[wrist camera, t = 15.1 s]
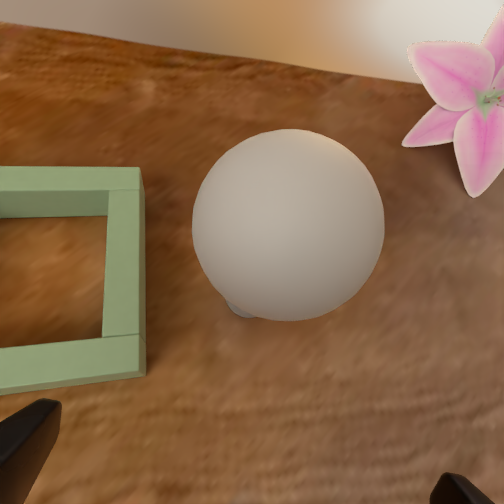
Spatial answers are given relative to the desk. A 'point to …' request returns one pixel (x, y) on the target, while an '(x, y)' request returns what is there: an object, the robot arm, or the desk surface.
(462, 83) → the lily
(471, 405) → the desk surface
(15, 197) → the frame
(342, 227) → the lightbulb
